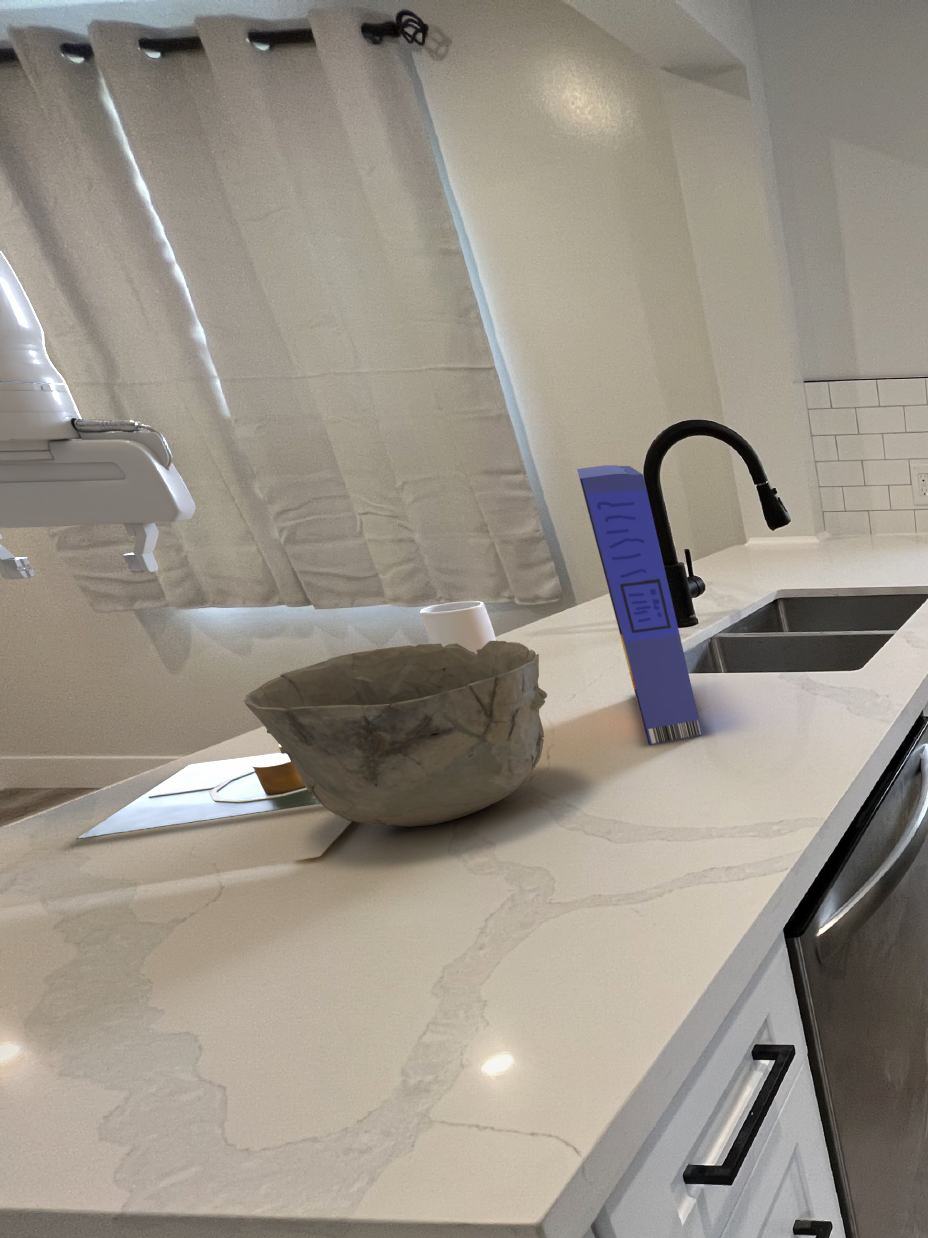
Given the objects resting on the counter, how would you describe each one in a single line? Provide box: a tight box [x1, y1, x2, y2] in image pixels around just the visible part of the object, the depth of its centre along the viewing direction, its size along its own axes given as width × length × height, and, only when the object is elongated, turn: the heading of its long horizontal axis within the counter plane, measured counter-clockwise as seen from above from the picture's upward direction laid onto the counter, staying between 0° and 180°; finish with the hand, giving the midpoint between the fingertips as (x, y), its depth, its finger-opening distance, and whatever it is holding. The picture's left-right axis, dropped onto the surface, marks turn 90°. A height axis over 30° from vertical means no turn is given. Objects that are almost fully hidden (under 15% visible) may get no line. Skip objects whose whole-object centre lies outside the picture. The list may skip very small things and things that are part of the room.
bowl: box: [243, 640, 548, 828], centre depth 82 cm, size 22×22×15 cm
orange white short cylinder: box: [252, 754, 305, 794], centre depth 90 cm, size 4×4×3 cm
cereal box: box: [576, 464, 703, 746], centre depth 104 cm, size 22×6×30 cm, turn 28°
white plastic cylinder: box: [420, 600, 497, 654], centre depth 108 cm, size 7×7×15 cm
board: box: [76, 752, 321, 840], centre depth 92 cm, size 20×20×1 cm
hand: (84, 575), depth 83 cm, fingers open, 8 cm apart
